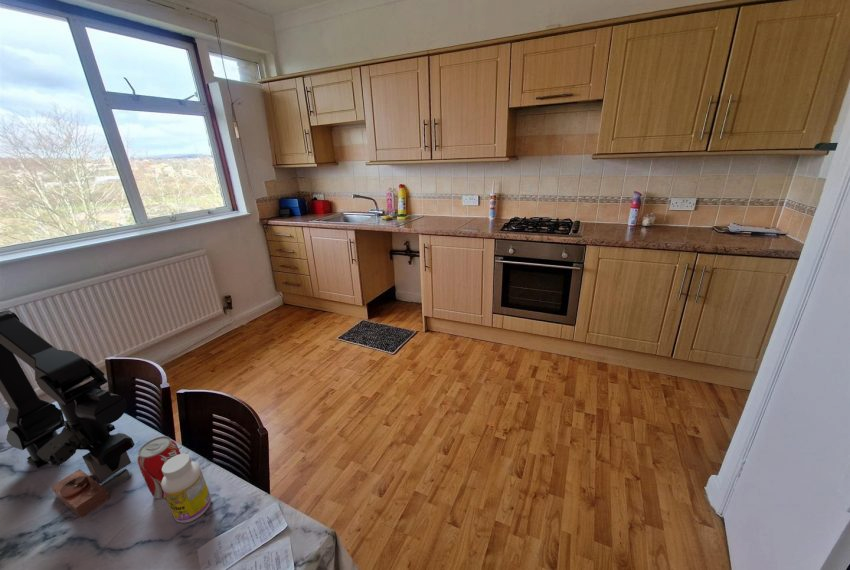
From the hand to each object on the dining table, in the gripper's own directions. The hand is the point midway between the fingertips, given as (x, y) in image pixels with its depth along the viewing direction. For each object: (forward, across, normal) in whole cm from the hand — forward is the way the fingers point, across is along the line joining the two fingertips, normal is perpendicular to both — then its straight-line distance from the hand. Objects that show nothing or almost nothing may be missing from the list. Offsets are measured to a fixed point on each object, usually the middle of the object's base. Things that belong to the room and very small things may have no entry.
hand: (110, 466), depth 81 cm
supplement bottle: (+3, +26, +3) cm, 26 cm away
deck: (+3, 0, -3) cm, 5 cm away
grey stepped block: (+1, 0, 0) cm, 1 cm away
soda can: (+3, +16, +4) cm, 17 cm away
